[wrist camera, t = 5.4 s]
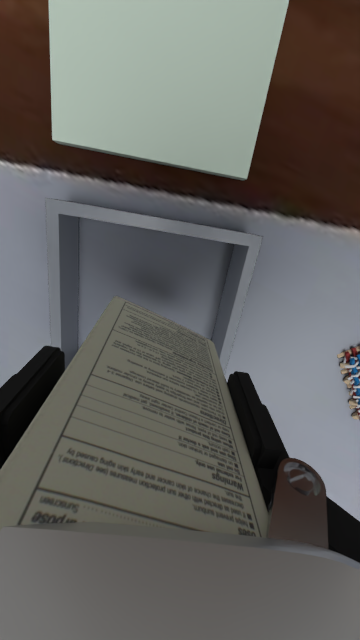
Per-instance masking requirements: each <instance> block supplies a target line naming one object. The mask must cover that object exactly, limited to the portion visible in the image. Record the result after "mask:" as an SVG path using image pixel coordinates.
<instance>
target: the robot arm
mask: <svg viewBox="0 0 360 640" xmlns="http://www.w3.org/2000/svg"><path fill="white" fill-rule="evenodd" d="M64 371H65V354H64V352H63V351H61V349H60V348H59V347H52V346H44V347H43V348H42V349H41V350H40V351H39V352H38V353H37V354H36V355H35V356H34V357H33V358H32V359H31V360H30V361H29V362H28V363H27V364H26V365H25V366H24V367H23V368H22V369H21V370H20V371H19V372H18V373H17V374H15V375H13V376H12V377H11V378H10V379H9V380H8V381H7V382H6V383H5V384H4V385H3V386H2V387H1V388H0V469H1V468H2V466H3V465H4V463H5V462H6V460H7V459H8V457H9V456H10V454H11V453H12V451H13V450H14V448H15V447H16V445H17V444H18V442H19V441H20V439H21V437H22V436H23V434H24V433H25V431H26V430H27V428H28V427H29V425H30V424H31V422H32V421H33V419H34V417H35V416H36V414H37V413H38V411H39V410H40V408H41V407H42V405H43V404H44V402H45V401H46V399H47V398H48V396H49V394H50V393H51V391H52V390H53V388H54V387H55V385H56V384H57V382H58V381H59V379H60V378H61V376H62V375H63V373H64ZM227 385H228V389H229V392H230V395H231V398H232V401H233V404H234V408H235V411H236V414H237V417H238V420H239V423H240V426H241V429H242V432H243V435H244V439H245V442H246V445H247V448H248V451H249V454H250V458H251V461H252V464H253V467H254V470H255V473H256V476H257V479H258V482H259V486H260V489H261V492H262V495H263V498H264V501H265V505H266V508H267V511H268V524H267V533H266V538H263V537H254V536H245V535H236V534H225V533H214V532H203V531H192V530H181V529H170V528H159V527H147V526H135V525H124V524H112V523H100V522H76V523H47V524H28V525H16V526H4V527H2V529H1V531H0V640H360V522H359V521H358V520H357V519H355V518H354V517H353V516H351V515H350V514H349V513H348V512H346V511H345V510H344V509H342V508H341V507H340V506H338V505H337V504H336V503H335V502H333V501H332V500H331V499H329V498H328V497H327V496H326V489H325V484H324V482H323V481H322V479H321V477H320V476H319V474H318V473H317V472H316V471H315V470H314V469H313V468H312V467H311V466H309V465H308V464H306V463H305V462H303V461H301V460H298V459H295V458H289V456H288V454H287V451H286V449H285V447H284V445H283V443H282V440H281V438H280V436H279V434H278V431H277V429H276V427H275V425H274V423H273V420H272V418H271V416H270V414H269V412H268V409H267V408H266V406H265V405H263V404H262V403H261V401H260V399H259V396H258V394H257V392H256V390H255V387H254V385H253V383H252V380H251V378H250V376H249V374H248V373H244V372H237V371H236V372H234V374H230V376H229V379H228V382H227Z"/></svg>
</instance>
